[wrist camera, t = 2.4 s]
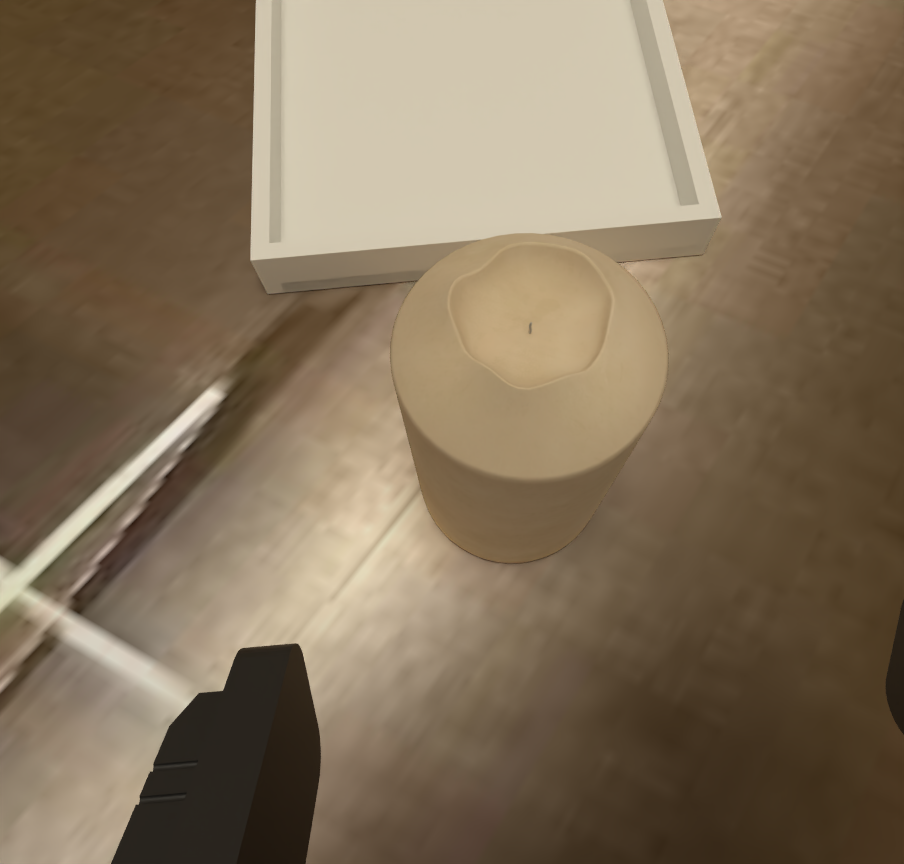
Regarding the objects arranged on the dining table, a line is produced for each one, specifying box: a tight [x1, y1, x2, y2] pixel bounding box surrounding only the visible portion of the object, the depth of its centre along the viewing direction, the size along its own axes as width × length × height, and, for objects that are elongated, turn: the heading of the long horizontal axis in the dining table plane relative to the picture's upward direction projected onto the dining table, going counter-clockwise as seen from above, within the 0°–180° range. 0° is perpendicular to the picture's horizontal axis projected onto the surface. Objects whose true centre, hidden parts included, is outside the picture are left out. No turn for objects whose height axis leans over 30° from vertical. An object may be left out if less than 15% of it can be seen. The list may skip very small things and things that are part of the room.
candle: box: [390, 233, 669, 563], centre depth 17 cm, size 6×6×10 cm
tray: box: [251, 0, 722, 294], centre depth 27 cm, size 15×19×2 cm
